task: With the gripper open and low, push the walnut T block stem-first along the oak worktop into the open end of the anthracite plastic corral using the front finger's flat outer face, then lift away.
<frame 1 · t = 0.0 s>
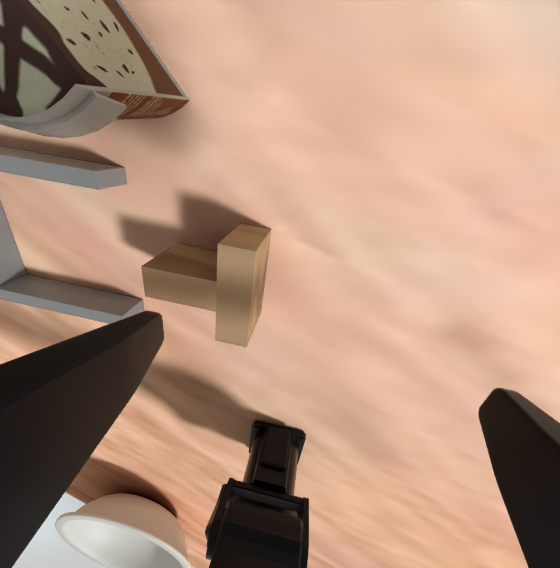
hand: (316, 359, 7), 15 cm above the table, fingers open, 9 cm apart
corral: (64, 233, 24), on the table
food container: (113, 66, 18), on the table
walnut T block: (221, 264, 23), on the table
soup bowl: (147, 504, 50), on the table
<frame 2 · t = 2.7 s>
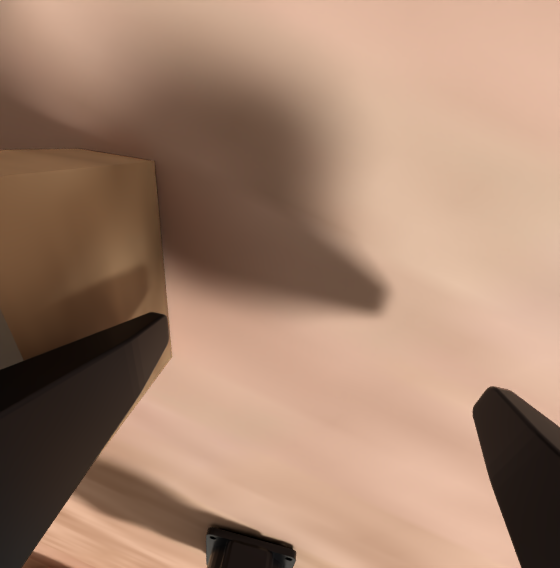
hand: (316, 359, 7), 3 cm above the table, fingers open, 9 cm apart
walnut T block: (66, 258, 10), on the table, touching gripper
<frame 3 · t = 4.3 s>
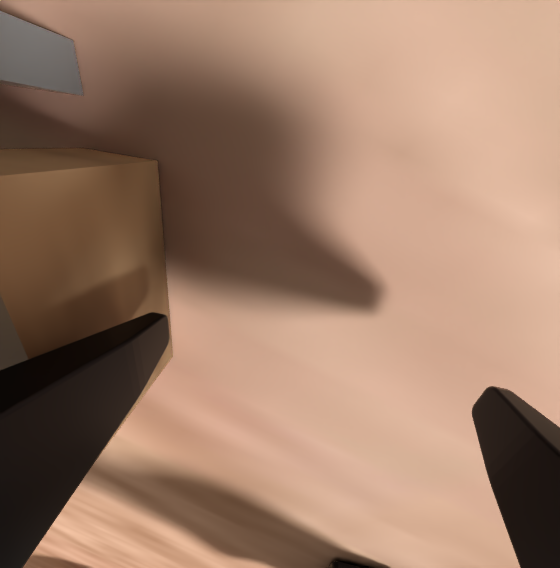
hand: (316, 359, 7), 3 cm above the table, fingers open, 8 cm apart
walnut T block: (68, 257, 10), on the table, touching gripper
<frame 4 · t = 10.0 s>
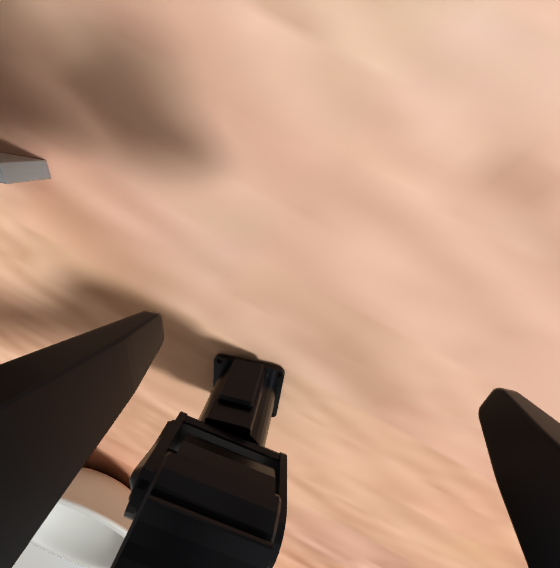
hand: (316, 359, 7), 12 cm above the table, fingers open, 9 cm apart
soup bowl: (105, 481, 42), on the table
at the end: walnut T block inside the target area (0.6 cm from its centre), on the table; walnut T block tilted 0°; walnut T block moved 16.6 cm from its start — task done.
